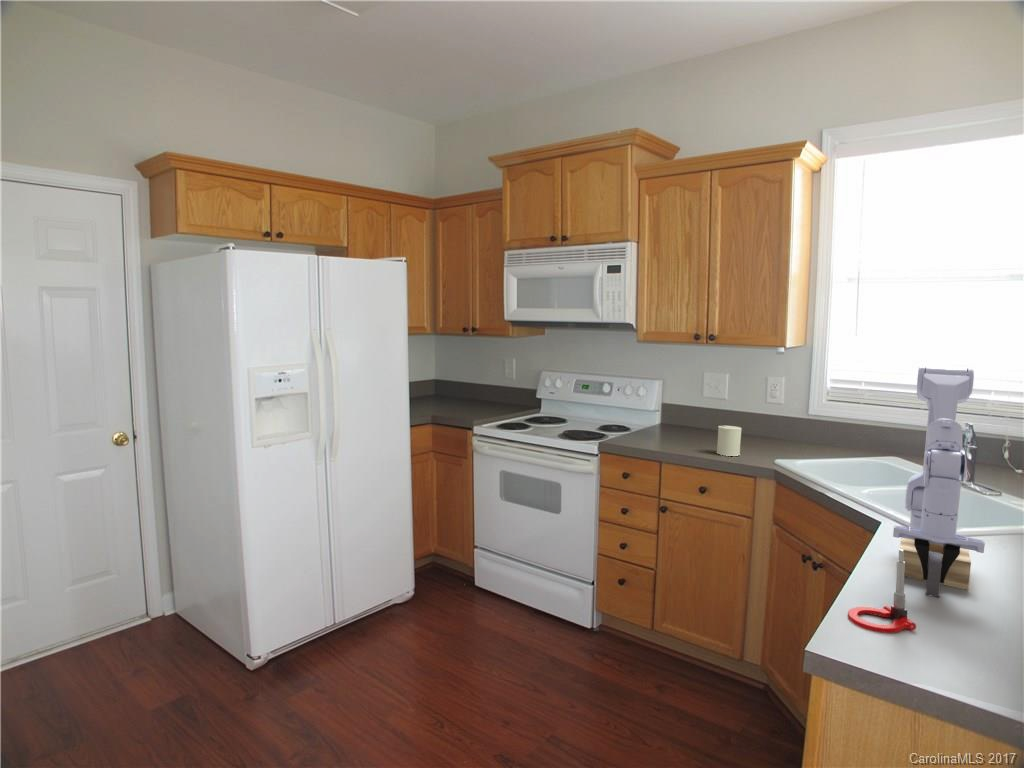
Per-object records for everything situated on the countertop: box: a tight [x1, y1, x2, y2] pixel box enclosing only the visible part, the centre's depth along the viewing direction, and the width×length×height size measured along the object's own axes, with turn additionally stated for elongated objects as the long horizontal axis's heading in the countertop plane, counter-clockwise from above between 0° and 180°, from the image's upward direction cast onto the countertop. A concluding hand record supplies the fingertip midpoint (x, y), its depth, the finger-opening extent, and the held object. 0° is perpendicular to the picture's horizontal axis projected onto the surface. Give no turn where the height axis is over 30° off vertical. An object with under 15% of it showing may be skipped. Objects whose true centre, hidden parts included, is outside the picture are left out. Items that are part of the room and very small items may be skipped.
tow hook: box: [847, 548, 917, 634], centre depth 108 cm, size 8×13×9 cm
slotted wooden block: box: [899, 537, 972, 590], centre depth 132 cm, size 11×12×6 cm
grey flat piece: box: [925, 551, 942, 598], centre depth 122 cm, size 7×2×7 cm, turn 147°
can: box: [716, 425, 742, 456], centre depth 257 cm, size 9×9×12 cm
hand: (933, 579), depth 122 cm, fingers closed on grey flat piece, 2 cm apart
